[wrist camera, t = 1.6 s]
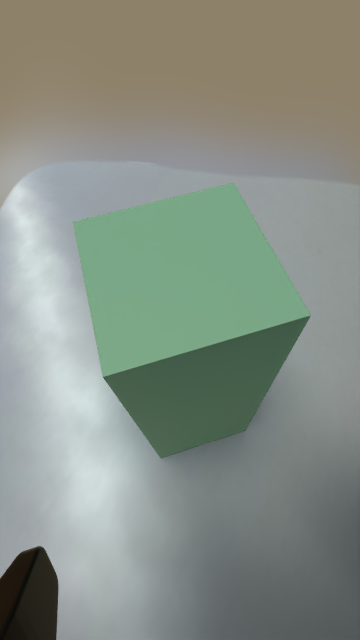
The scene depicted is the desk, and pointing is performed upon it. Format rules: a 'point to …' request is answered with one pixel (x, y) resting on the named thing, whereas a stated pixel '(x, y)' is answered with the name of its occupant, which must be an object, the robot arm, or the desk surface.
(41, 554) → the robot arm
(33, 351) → the desk surface
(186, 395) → the tall green square pillar
